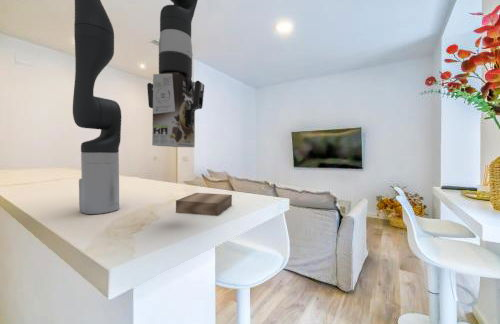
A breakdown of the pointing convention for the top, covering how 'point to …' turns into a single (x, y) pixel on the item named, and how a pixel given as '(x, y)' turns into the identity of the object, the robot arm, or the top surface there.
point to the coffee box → (171, 111)
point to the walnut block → (204, 204)
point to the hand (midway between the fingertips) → (175, 126)
